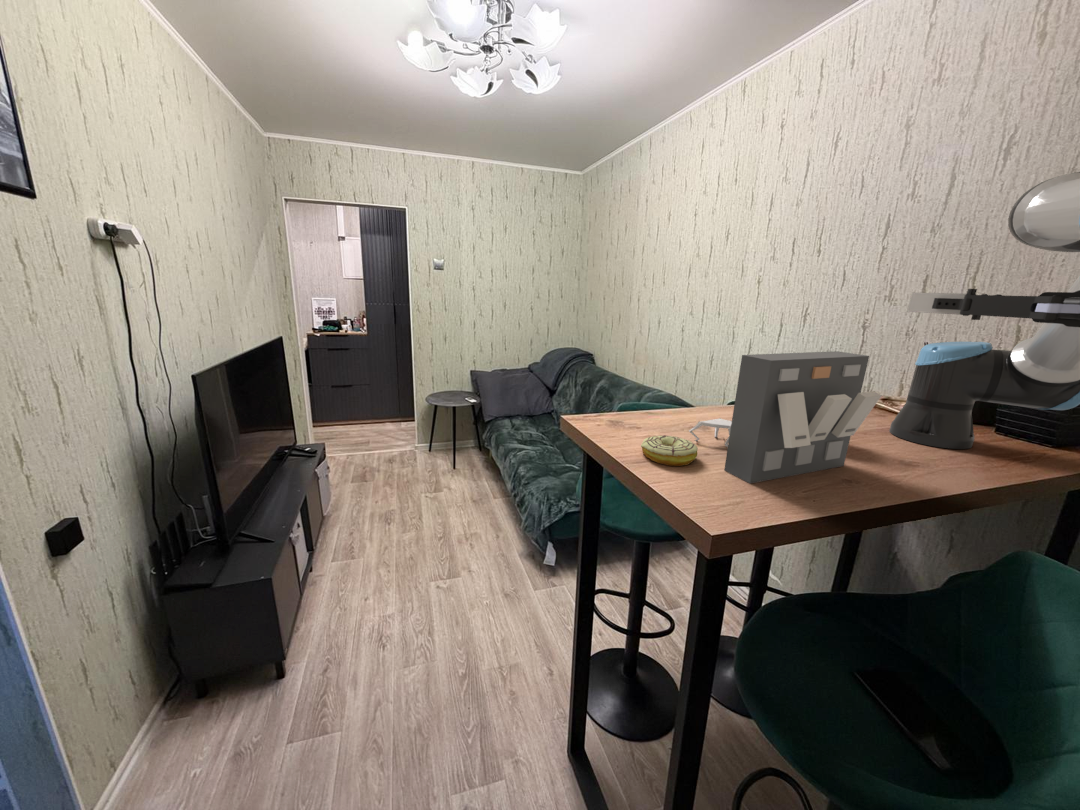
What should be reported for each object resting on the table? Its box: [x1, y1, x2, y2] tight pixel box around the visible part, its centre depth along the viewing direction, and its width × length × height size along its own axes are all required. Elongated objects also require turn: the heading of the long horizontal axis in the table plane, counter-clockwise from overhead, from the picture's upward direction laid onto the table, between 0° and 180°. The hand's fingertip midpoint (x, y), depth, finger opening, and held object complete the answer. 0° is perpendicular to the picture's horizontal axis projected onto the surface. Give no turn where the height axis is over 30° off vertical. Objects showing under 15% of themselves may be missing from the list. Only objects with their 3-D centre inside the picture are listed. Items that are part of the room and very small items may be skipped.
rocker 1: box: [778, 392, 811, 448], centre depth 72 cm, size 2×4×9 cm, turn 112°
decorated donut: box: [640, 435, 699, 467], centre depth 87 cm, size 10×11×4 cm
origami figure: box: [688, 417, 732, 448], centre depth 97 cm, size 12×8×5 cm
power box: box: [724, 350, 870, 484], centre depth 81 cm, size 6×25×22 cm, turn 112°
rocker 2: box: [832, 390, 882, 437], centre depth 79 cm, size 2×4×9 cm, turn 112°
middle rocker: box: [808, 394, 852, 442], centre depth 76 cm, size 2×4×9 cm, turn 112°
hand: (912, 302), depth 62 cm, fingers closed
